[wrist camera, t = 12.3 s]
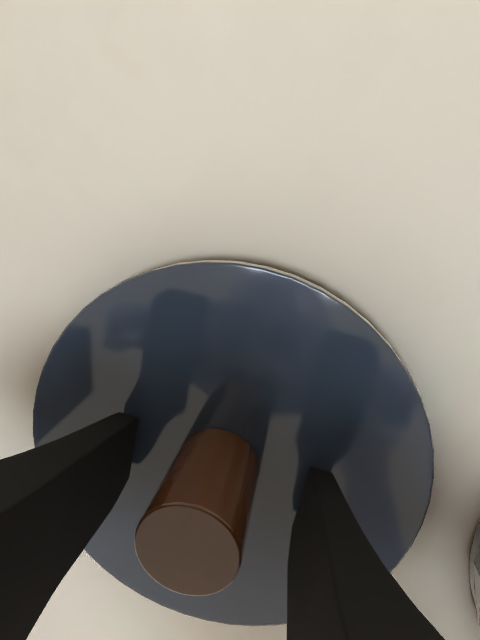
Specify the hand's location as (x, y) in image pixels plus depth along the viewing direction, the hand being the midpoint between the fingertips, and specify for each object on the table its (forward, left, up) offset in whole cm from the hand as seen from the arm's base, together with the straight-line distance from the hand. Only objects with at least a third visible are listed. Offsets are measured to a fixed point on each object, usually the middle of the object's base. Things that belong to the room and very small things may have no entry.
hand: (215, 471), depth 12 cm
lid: (0, 0, -1) cm, 1 cm away
